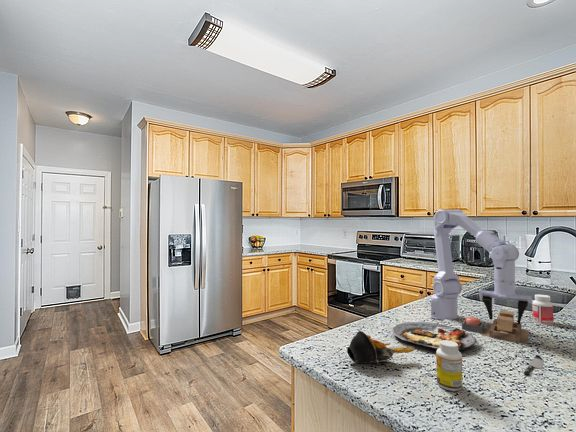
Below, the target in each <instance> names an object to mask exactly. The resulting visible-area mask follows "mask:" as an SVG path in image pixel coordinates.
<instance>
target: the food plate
mask: <svg viewBox="0 0 576 432" xmlns="http://www.w3.org/2000/svg"><path fill="white" fill-rule="evenodd" d="M437 328H438V329H437ZM436 329H437V333H434V331H435V330H436ZM446 330H449V331H450V332H447V331H446ZM391 331H392V334H393V335H395V337H397V338H399V339H401V340H402V341H405V342H410V343H411V344H414V345H415V344H416V345H419V346H423V347H425V348H427V347H428V348H432V349H436V350H437V349H438V348H440V341H442V340H448V341H453V342H455V343H457V344H458V351H459V350H464V349H469V348H471V347H472V346H474V345H475V344H477V339H476V338H475V337H474V336H473V334H471V333H469V332H466V330H463V329H461V328H460V329H459V328H458V327H454V326H451V325H444V324H440V323H433V322H427V321H415V322H413V321H412V322H411V321H410V322H409V321H408V322H401V323H398V324H396V325H395V326H394V327H392V328H391Z"/></svg>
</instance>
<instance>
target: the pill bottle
mask: <svg viewBox="0 0 576 432" xmlns="http://www.w3.org/2000/svg"><path fill="white" fill-rule="evenodd" d="M551 300H552V299H551V296H550V295H547V294H540V293H539V294H538V293H537V294H534V300H532V304H531V306H532V307H531V308H532V322H533V323H535V324H538V325H544V326H545V325H546V326H553V325H554V323H555V322H554V304H553V303H552V302H551Z"/></svg>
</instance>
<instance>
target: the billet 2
mask: <svg viewBox="0 0 576 432" xmlns="http://www.w3.org/2000/svg"><path fill="white" fill-rule="evenodd" d="M496 319H497V331H499V332H500V331H502V332H507V333H509V334H513V318H510V317H504V316H499V315H497V318H496Z"/></svg>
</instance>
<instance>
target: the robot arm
mask: <svg viewBox="0 0 576 432" xmlns="http://www.w3.org/2000/svg"><path fill="white" fill-rule="evenodd" d="M433 223H434V225H433V236H434V245H435V254H436V262H437V270H438V272H437V273H436V275H434V276H433V284H432V289H433V292H434V294H432V295H431V299H430V319H435V320H439V321H440V320H442V321H445V320H446V319H447V320H448V319H449V320H454V319H457V318H458V313H459V311H458V297H459V295H460V294H461V293H462V290H463V286H462V282H460V278H459V276H458V274H456V273H455V271H454V265H453V257H452V251H451V250H452V249H451V248H452V247H451V241H450V232H451V231H452V230H453V229H455V228H457V227H460V228H462V229H464V230H465V231H466V232H468V233H469V234H470V235H472V236H473V237H474V238H475V242H476V243H477V244H478V245H479V246H480V247H482V248H483V249H484V250H486V251H487V252H488V253H489V256H490V259H491V260H492V262H493V263H492V264H493V267H494V269H493V270H494V271H493V274H494V275H493V278H494V280H493V283H494V284H493V285H494V287H493V289H494V290H482V289H479V290H478V297H481V298H482V302H483V304H484V306H485V308H486V310H487V313H488V318H489V320H490V321H491V320H492V321H493V320H494V318H493V316H494V314H493V299H499V300H506V301H513V302H517V323H518V324H519V325H520V323H522V322H521V321H522V318H523V315H524V312H525V311H526V309H527V308H528V305H529V304H531V305H532V302H533V296H530V295H525V294H519V293H516V261H517V260H518V259H519V257H520V252H519V249H518V248H517V247H516V246H515V245H514V244H512V243H506V241H505V240H504V239H501V238H500V237H498V236H497V235H496V234H495V232H494V231H493V230H488V229H486V230H483V229H482V228H481V227H480V226H479V225H477V224H476V223H475V221H473V220H472V219H470V218H469V217H468V216H467V213H466V212H463V210H461V209H459V208H458V209H442V208H441V209H440V208H439V209H438V210H437V211H436V212H435V214H434V215H433Z"/></svg>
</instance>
